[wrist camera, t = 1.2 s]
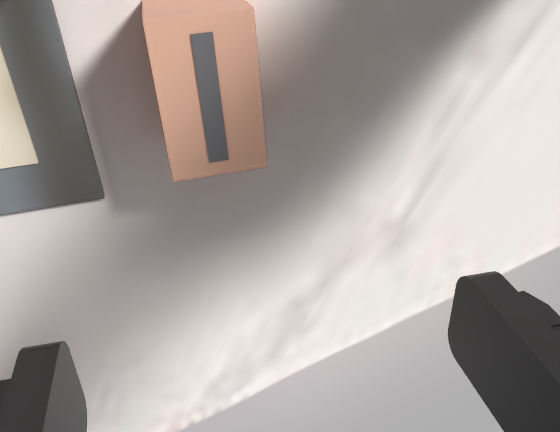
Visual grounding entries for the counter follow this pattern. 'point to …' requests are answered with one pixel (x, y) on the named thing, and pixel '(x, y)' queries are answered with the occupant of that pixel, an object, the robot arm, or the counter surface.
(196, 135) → the terracotta block
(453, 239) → the counter surface
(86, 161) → the arena
